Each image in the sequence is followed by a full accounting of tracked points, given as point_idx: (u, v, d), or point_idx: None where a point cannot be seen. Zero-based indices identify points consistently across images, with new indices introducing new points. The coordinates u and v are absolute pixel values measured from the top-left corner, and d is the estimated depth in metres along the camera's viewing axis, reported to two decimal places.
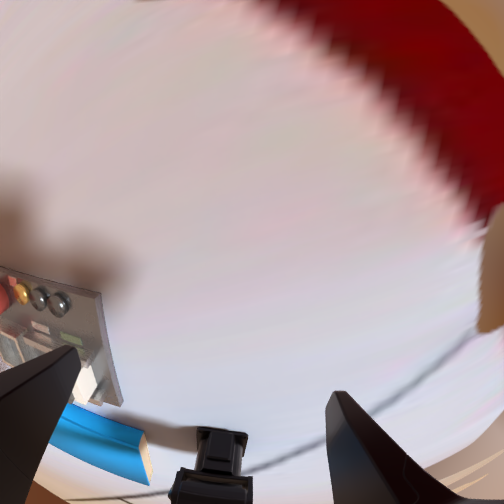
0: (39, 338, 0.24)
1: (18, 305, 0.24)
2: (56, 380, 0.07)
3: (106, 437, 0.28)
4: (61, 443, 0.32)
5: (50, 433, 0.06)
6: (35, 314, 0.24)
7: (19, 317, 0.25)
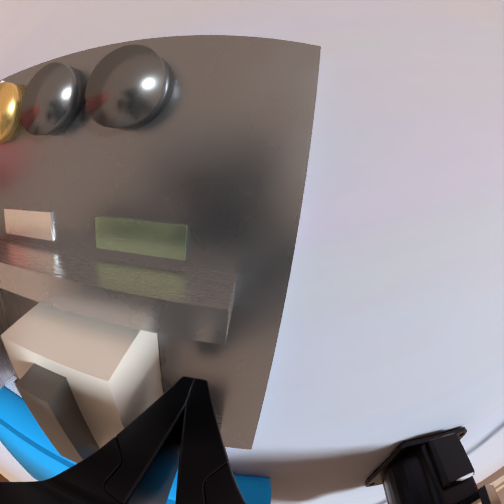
0: (16, 253, 0.07)
1: None
2: None
3: None
4: None
5: (173, 479, 0.06)
6: (20, 178, 0.07)
7: None
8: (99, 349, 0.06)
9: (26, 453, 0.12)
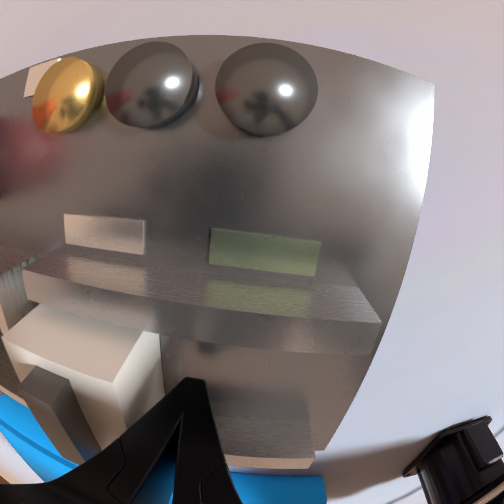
0: (96, 271, 0.07)
1: (27, 167, 0.07)
2: None
3: None
4: None
5: None
6: (91, 177, 0.07)
7: (19, 217, 0.08)
8: (102, 350, 0.06)
9: (58, 473, 0.12)
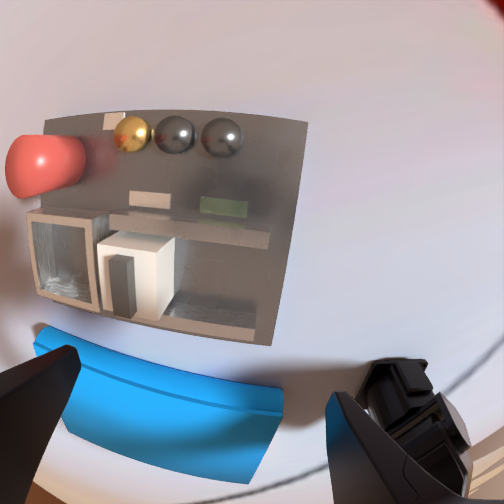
0: (148, 214, 0.17)
1: (107, 166, 0.17)
2: (56, 380, 0.07)
3: (225, 407, 0.21)
4: (110, 437, 0.24)
5: (50, 433, 0.06)
6: (146, 174, 0.17)
7: (99, 193, 0.17)
8: (150, 245, 0.16)
9: (81, 390, 0.21)
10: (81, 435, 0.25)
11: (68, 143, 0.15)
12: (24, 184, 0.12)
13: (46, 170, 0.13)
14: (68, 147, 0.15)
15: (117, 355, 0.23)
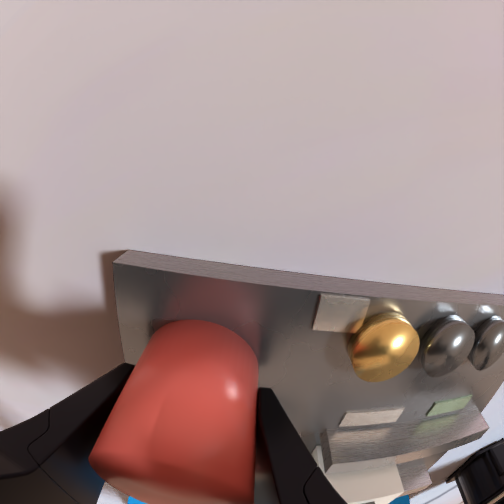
0: (380, 443, 0.09)
1: (310, 386, 0.09)
2: None
3: None
4: None
5: None
6: (380, 392, 0.09)
7: None
8: (387, 479, 0.08)
9: None
10: None
11: (244, 381, 0.07)
12: None
13: None
14: (252, 393, 0.07)
15: None
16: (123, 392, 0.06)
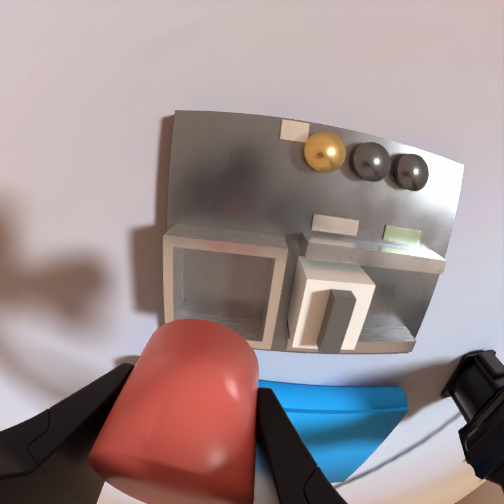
0: (345, 242, 0.16)
1: (284, 183, 0.16)
2: None
3: (366, 411, 0.20)
4: None
5: None
6: (334, 197, 0.16)
7: (271, 213, 0.17)
8: (358, 276, 0.15)
9: None
10: None
11: (245, 380, 0.07)
12: None
13: None
14: (252, 392, 0.07)
15: None
16: (123, 391, 0.06)
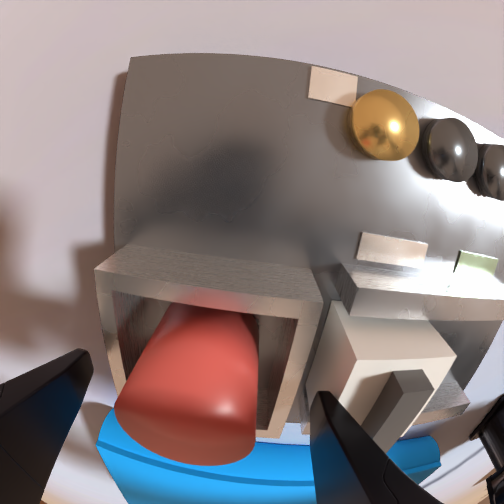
0: (411, 282, 0.09)
1: (315, 177, 0.09)
2: (69, 386, 0.07)
3: None
4: None
5: (62, 439, 0.06)
6: (395, 205, 0.09)
7: (289, 229, 0.09)
8: (430, 340, 0.08)
9: (181, 491, 0.13)
10: None
11: (248, 340, 0.09)
12: (195, 454, 0.07)
13: None
14: (253, 350, 0.09)
15: None
16: (146, 347, 0.08)
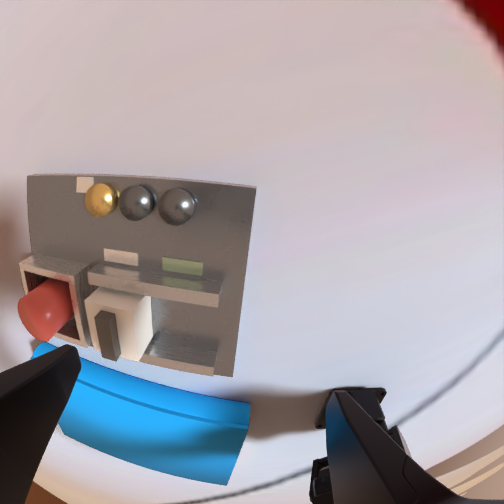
0: (119, 272, 0.19)
1: (83, 225, 0.19)
2: (56, 380, 0.07)
3: (197, 419, 0.22)
4: (101, 440, 0.26)
5: (50, 433, 0.06)
6: (116, 234, 0.19)
7: (79, 247, 0.20)
8: (128, 302, 0.18)
9: (74, 399, 0.23)
10: (76, 438, 0.27)
11: (64, 291, 0.19)
12: (39, 332, 0.17)
13: (55, 326, 0.17)
14: (66, 296, 0.19)
15: (104, 370, 0.24)
16: None
